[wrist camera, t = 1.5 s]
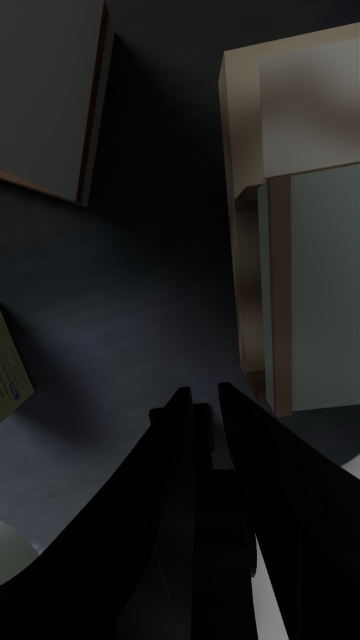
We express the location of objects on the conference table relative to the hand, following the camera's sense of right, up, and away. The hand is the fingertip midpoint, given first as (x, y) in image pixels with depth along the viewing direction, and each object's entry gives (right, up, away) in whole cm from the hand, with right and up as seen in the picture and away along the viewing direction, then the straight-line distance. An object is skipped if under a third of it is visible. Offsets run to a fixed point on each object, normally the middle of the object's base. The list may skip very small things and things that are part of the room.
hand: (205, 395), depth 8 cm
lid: (+9, +4, +6) cm, 12 cm away
